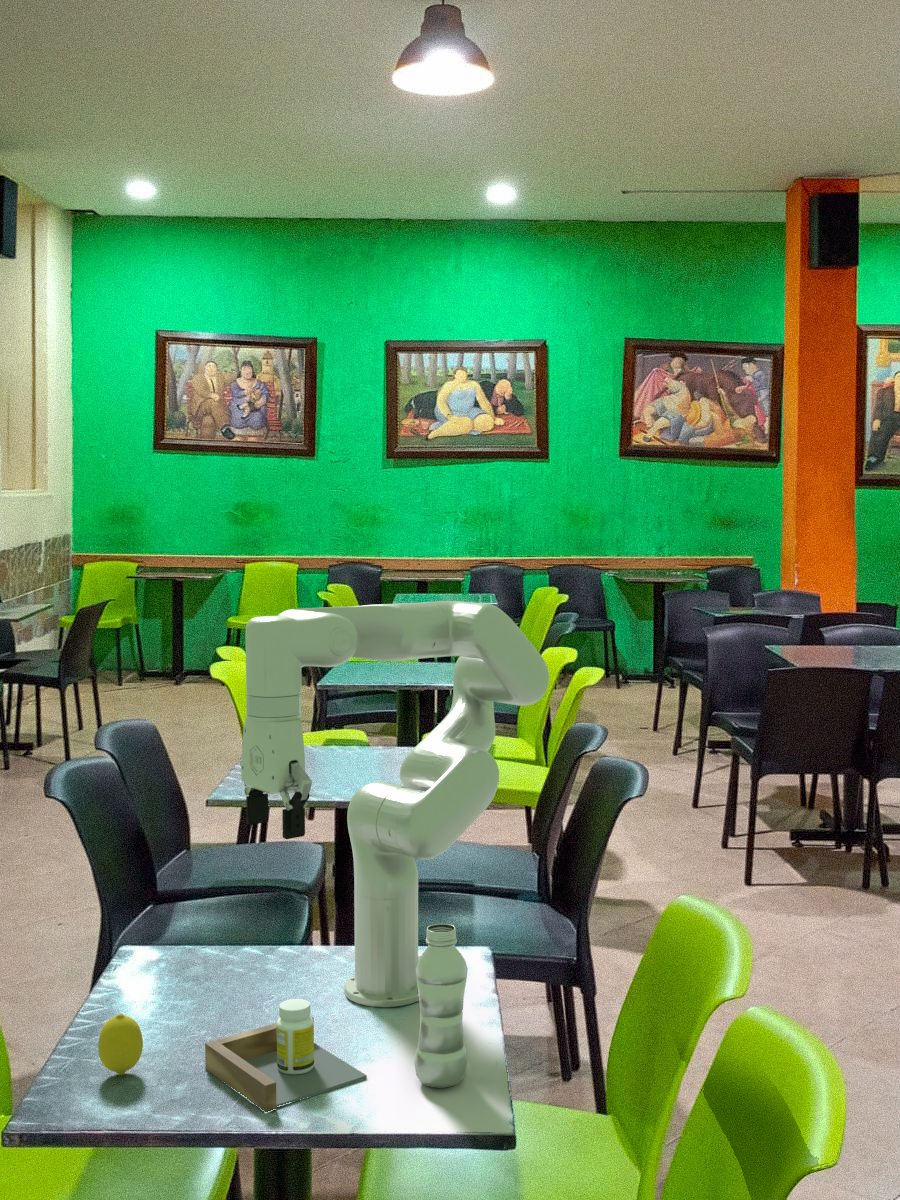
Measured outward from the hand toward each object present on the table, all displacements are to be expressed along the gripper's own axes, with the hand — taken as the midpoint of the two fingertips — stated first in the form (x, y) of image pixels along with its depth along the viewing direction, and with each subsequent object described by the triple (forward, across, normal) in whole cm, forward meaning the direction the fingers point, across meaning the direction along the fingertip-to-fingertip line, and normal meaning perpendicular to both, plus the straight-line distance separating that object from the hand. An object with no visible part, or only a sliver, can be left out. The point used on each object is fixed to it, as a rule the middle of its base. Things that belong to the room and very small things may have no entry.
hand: (275, 830), depth 178 cm
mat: (+28, +14, -6) cm, 32 cm away
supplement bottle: (+28, +13, -5) cm, 31 cm away
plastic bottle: (+28, +27, +8) cm, 40 cm away
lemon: (+28, 0, -23) cm, 37 cm away
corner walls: (+28, +13, -6) cm, 32 cm away
